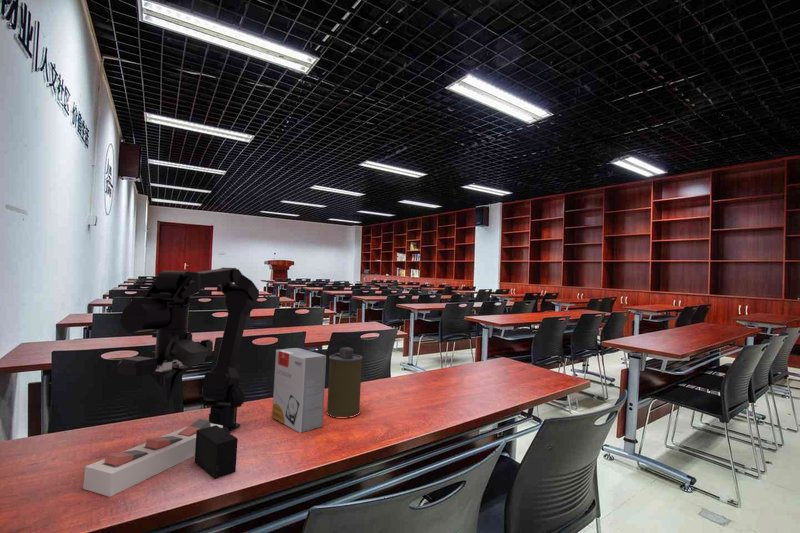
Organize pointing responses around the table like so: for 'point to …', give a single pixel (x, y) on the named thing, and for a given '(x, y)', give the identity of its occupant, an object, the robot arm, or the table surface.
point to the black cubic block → (216, 451)
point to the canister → (344, 383)
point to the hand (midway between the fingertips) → (167, 400)
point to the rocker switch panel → (138, 466)
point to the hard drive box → (299, 388)
